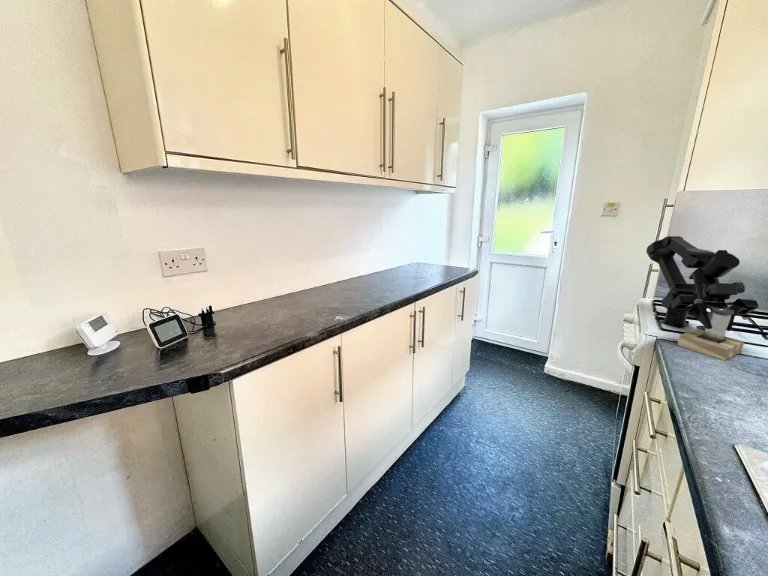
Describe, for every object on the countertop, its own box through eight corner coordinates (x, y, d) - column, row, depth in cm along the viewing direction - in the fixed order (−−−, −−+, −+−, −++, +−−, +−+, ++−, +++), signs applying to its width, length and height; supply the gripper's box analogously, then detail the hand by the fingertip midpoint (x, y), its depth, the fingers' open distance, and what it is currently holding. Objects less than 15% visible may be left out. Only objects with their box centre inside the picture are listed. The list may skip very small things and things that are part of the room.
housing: (694, 338, 105) (697, 328, 104) (741, 352, 95) (744, 341, 94) (677, 345, 100) (679, 335, 99) (724, 360, 90) (727, 349, 90)
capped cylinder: (703, 342, 100) (714, 304, 97) (725, 349, 96) (737, 309, 92) (695, 345, 98) (707, 306, 95) (717, 352, 94) (729, 312, 90)
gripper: (684, 269, 97) (695, 315, 91) (765, 273, 91) (783, 322, 84) (666, 287, 107) (675, 329, 100) (738, 291, 101) (752, 337, 94)
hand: (719, 329), depth 94 cm, fingers closed on capped cylinder, 4 cm apart
